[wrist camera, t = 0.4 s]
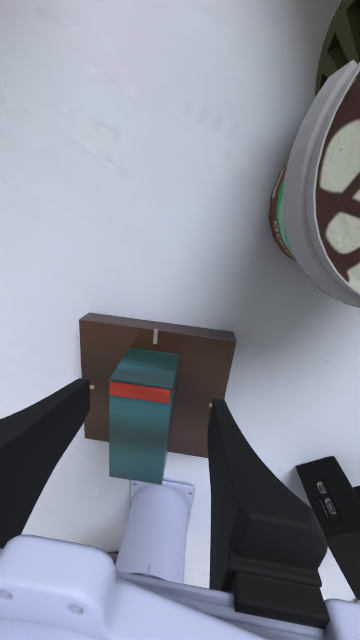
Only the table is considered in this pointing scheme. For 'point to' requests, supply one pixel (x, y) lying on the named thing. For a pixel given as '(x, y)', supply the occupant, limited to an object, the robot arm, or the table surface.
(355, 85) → the food container
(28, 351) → the table surface
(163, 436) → the teal block red stripe
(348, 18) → the cannon
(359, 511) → the digital camera
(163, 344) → the clock
